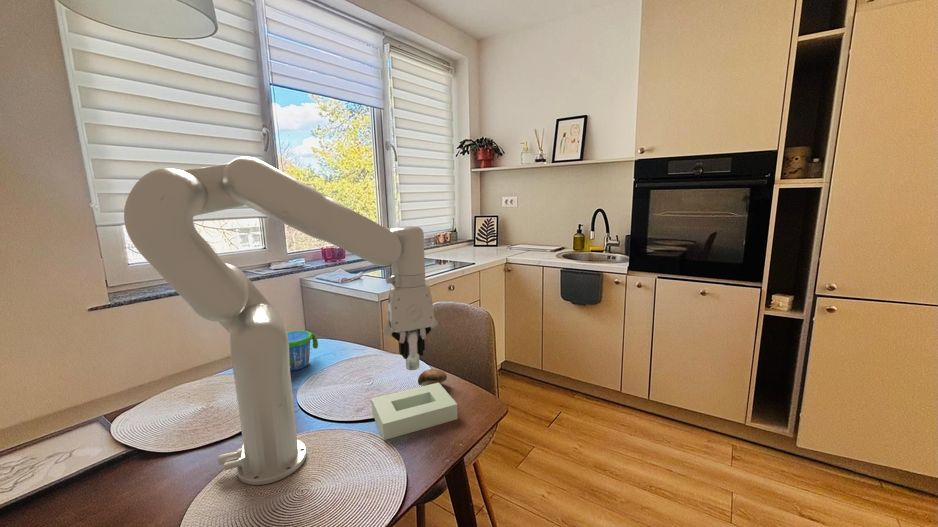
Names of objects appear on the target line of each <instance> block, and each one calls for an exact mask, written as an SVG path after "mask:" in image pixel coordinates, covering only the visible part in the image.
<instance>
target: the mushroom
mask: <svg viewBox="0 0 938 527" xmlns="http://www.w3.org/2000/svg"><path fill="white" fill-rule="evenodd" d="M447 378H448V376H447V374H446V373H445V372H444V371H443V370H441V369H436V368H435V369H433V368H432V369H426V370H424V371H423V372H421V373H420V374H419V375H418V378H417V383H418V385H419V386H420V387H422V386H426V385H430V384H434V383H440V384H441V385H442V383H443V382H446V380H447Z"/></svg>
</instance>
